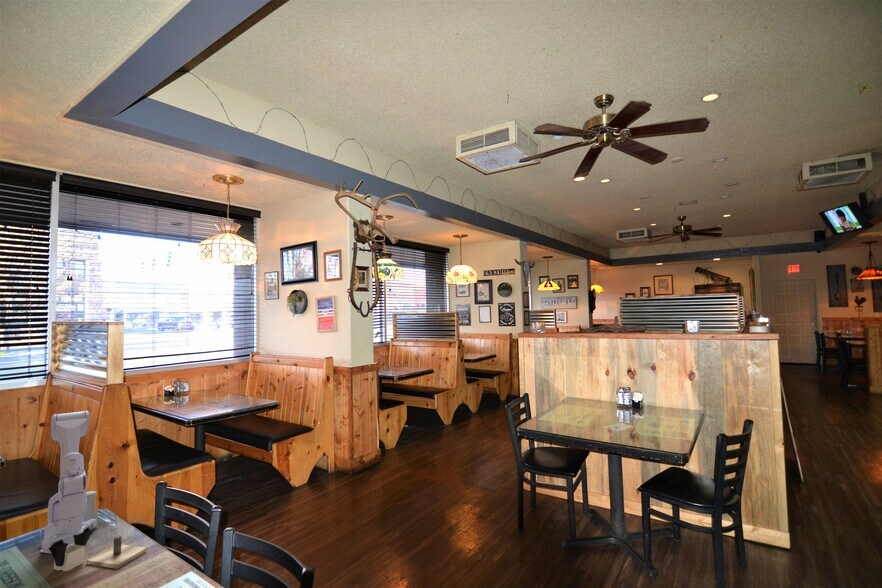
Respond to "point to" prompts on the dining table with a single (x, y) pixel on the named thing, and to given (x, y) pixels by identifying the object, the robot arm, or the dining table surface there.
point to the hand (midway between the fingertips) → (69, 560)
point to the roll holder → (116, 555)
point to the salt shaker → (91, 507)
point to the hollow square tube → (72, 557)
